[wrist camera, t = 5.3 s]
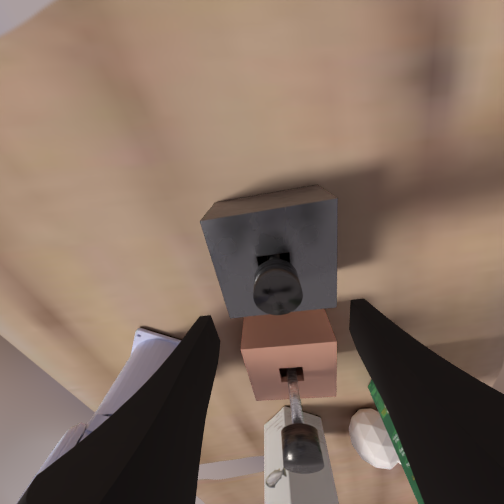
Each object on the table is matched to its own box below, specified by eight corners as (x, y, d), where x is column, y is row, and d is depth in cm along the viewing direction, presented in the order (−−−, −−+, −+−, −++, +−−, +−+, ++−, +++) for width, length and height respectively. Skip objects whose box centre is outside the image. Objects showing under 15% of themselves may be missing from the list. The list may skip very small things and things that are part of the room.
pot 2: (324, 355, 27) (336, 396, 23) (257, 360, 28) (256, 400, 24) (322, 303, 23) (336, 341, 19) (244, 312, 24) (240, 349, 20)
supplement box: (283, 404, 33) (294, 536, 22) (321, 416, 34) (350, 547, 23) (262, 423, 36) (262, 547, 25) (298, 434, 38) (314, 556, 26)
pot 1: (320, 273, 21) (336, 307, 17) (236, 283, 22) (230, 318, 18) (317, 184, 17) (337, 198, 13) (214, 202, 18) (199, 221, 14)
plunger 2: (305, 374, 22) (324, 473, 16) (278, 376, 23) (285, 473, 16) (304, 357, 21) (324, 457, 14) (274, 359, 21) (281, 457, 15)
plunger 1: (289, 255, 20) (304, 312, 13) (259, 259, 20) (257, 317, 13) (286, 226, 18) (301, 273, 12) (253, 231, 19) (249, 279, 12)
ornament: (350, 398, 31) (406, 445, 25) (368, 397, 35) (420, 437, 29) (333, 438, 31) (386, 496, 25) (353, 433, 35) (403, 482, 29)
